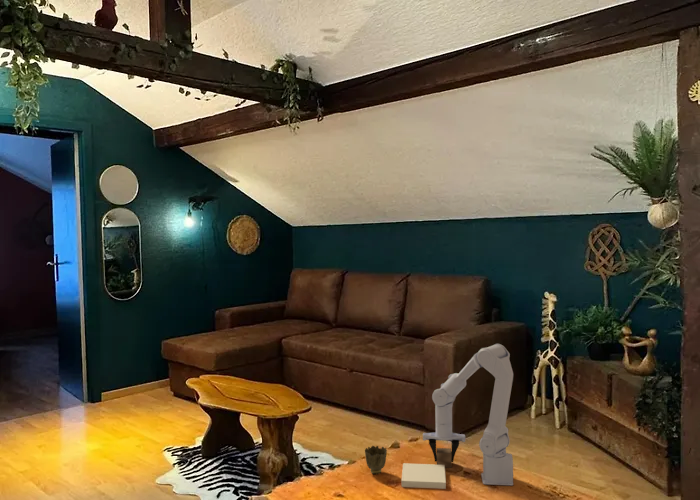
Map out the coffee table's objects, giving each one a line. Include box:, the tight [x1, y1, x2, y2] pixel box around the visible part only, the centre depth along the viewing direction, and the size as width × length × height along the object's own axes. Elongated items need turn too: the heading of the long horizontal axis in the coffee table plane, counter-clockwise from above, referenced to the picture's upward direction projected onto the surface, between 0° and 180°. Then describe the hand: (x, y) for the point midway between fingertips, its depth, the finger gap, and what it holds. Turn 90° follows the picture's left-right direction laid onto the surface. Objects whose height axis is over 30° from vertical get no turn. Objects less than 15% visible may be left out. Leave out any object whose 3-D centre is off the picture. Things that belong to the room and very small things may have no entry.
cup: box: [364, 445, 388, 475], centre depth 204 cm, size 8×7×8 cm
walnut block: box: [436, 447, 453, 469], centre depth 211 cm, size 5×5×5 cm
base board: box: [400, 462, 447, 490], centre depth 200 cm, size 14×14×2 cm
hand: (443, 460), depth 211 cm, fingers closed on walnut block, 5 cm apart
